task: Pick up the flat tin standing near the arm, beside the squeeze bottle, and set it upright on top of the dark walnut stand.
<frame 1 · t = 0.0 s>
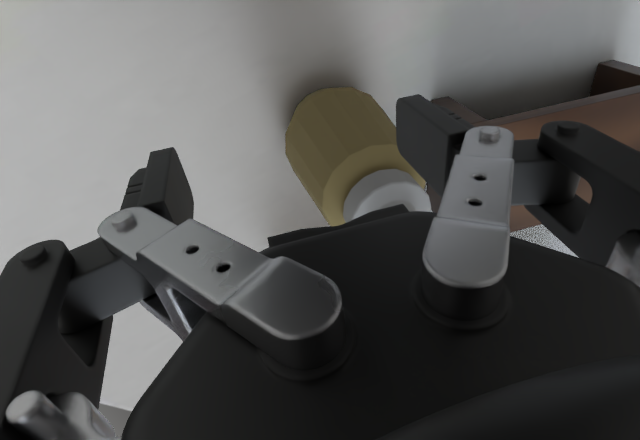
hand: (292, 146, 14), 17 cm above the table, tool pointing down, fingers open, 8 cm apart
squeeze bottle: (324, 122, 32), on the table
stand: (514, 136, 38), on the table
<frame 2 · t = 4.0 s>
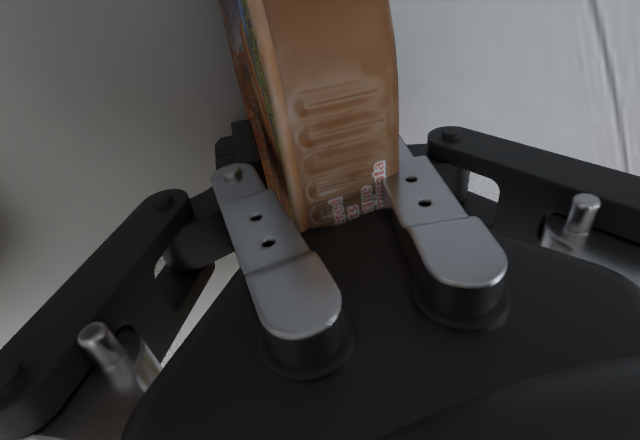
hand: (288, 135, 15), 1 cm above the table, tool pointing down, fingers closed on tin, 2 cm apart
tin: (288, 122, 16), on the table, touching gripper
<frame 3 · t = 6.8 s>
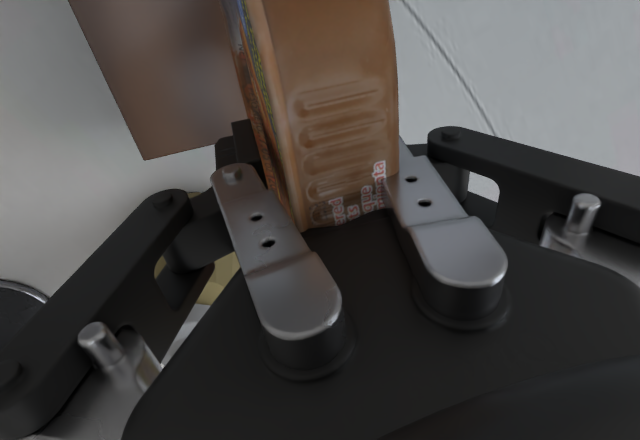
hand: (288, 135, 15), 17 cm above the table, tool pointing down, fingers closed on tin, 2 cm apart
squeeze bottle: (196, 217, 36), on the table
tin: (288, 122, 16), point 16 cm above the table, touching gripper
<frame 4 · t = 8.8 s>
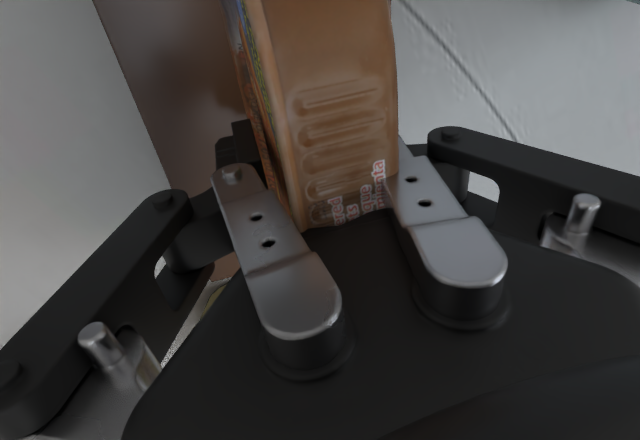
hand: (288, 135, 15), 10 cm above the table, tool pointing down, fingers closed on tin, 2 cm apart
tin: (288, 121, 16), point 9 cm above the table, touching gripper
stand: (257, 68, 23), on the table
when the fingers open (8 cm above the table, at t = 9.7 s): tin stays where it is, resting on stand.
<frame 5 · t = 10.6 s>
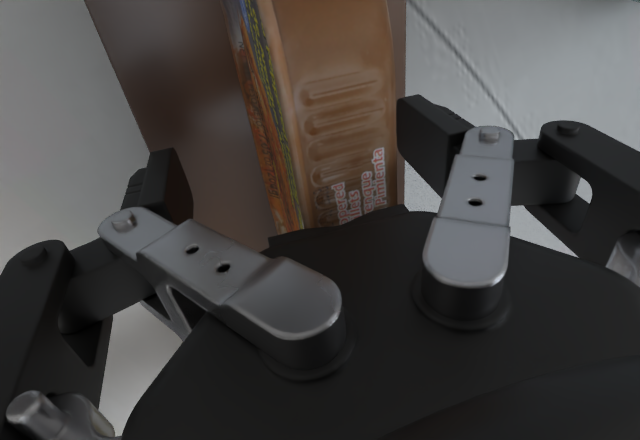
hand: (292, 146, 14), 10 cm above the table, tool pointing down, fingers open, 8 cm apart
tin: (286, 117, 16), point 7 cm above the table, touching stand
stand: (261, 74, 22), on the table
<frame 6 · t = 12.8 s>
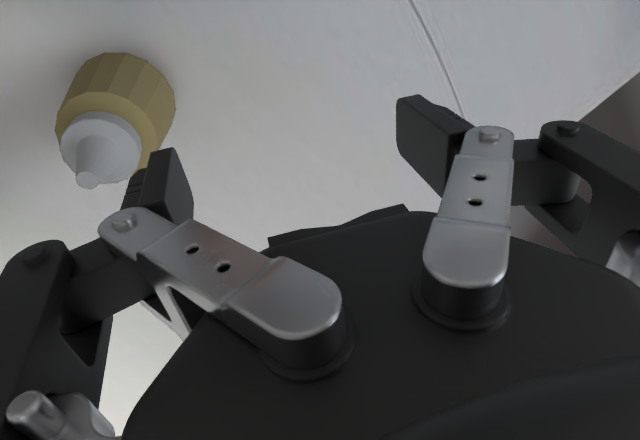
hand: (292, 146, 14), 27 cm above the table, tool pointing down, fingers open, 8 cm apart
squeeze bottle: (132, 88, 37), on the table
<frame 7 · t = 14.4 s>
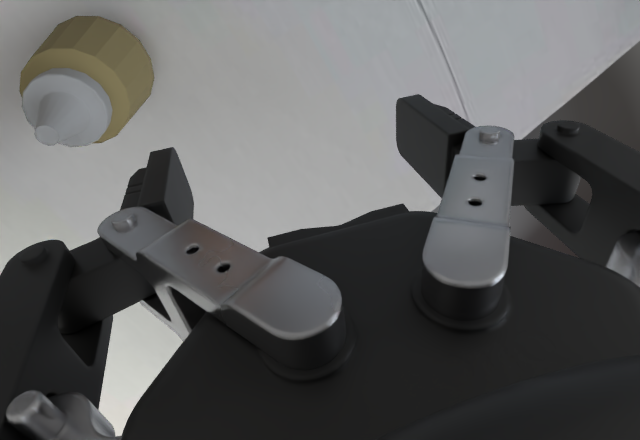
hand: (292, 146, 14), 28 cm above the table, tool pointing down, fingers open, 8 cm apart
squeeze bottle: (110, 58, 35), on the table
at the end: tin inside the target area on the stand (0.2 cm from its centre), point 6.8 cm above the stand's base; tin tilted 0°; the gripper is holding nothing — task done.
